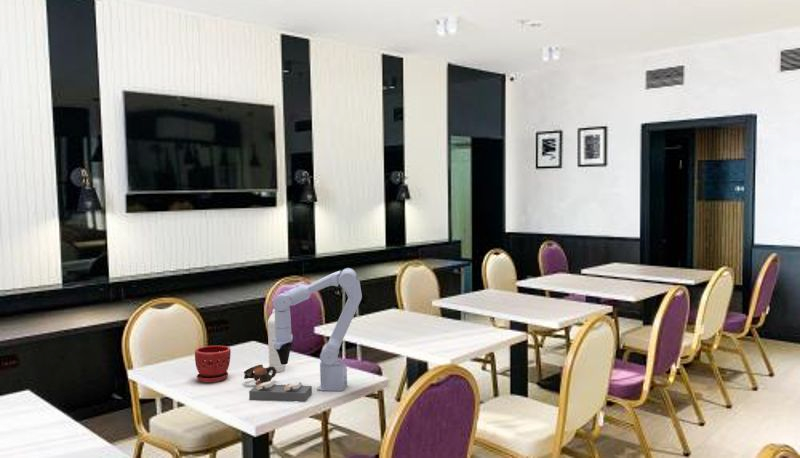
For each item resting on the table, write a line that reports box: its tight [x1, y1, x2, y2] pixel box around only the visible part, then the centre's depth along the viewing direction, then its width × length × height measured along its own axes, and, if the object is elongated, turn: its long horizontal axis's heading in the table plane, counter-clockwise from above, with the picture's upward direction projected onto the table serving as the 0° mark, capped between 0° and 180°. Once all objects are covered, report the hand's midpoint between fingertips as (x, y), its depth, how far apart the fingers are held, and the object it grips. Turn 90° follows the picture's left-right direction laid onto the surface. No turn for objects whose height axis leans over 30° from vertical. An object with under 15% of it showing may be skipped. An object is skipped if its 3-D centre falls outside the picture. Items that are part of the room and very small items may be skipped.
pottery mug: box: [243, 364, 277, 386], centre depth 235 cm, size 12×10×8 cm
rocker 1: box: [257, 380, 275, 390], centre depth 218 cm, size 5×4×2 cm
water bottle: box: [267, 308, 286, 373], centre depth 252 cm, size 9×6×25 cm
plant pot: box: [194, 345, 232, 383], centre depth 241 cm, size 13×13×12 cm
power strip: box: [248, 383, 313, 403], centre depth 219 cm, size 20×8×3 cm, turn 80°
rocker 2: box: [284, 381, 302, 391], centre depth 216 cm, size 5×4×2 cm
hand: (284, 363), depth 227 cm, fingers closed
